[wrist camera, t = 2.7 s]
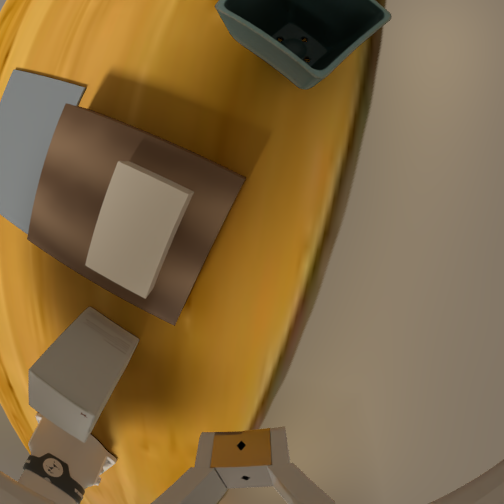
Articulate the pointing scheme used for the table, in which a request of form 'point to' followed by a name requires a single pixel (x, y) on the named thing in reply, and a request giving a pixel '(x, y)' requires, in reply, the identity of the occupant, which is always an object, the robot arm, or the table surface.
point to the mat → (28, 138)
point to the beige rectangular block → (136, 227)
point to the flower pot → (302, 32)
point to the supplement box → (80, 372)
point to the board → (94, 190)
